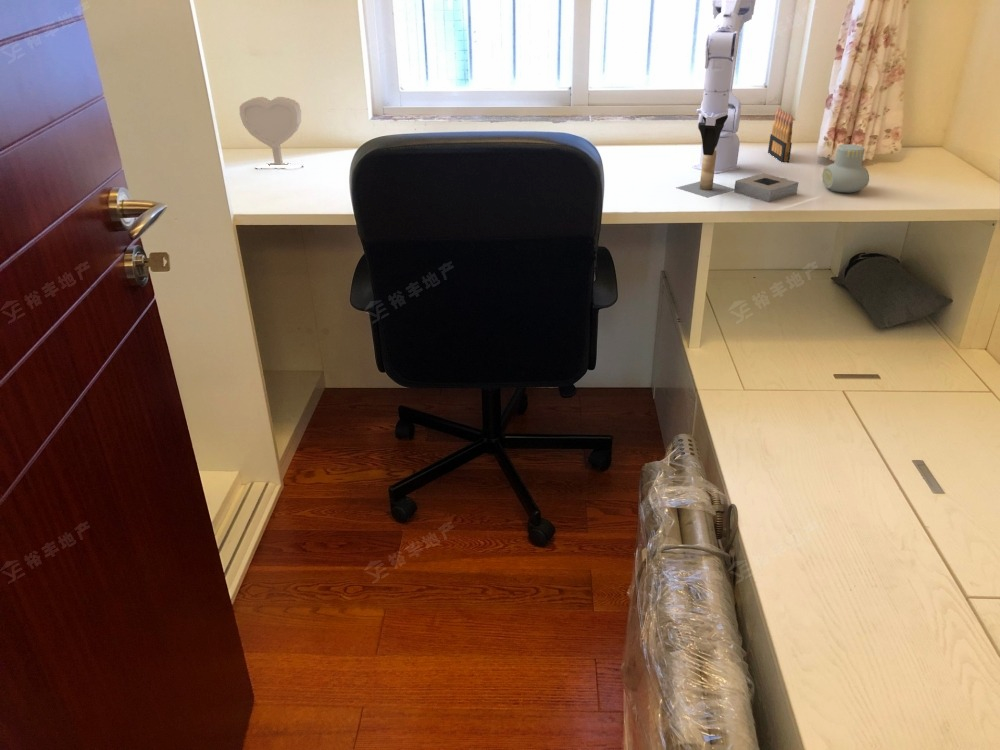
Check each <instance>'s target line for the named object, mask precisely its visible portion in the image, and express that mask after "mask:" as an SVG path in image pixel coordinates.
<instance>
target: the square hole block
mask: <svg viewBox="0 0 1000 750" xmlns="http://www.w3.org/2000/svg"><path fill="white" fill-rule="evenodd" d="M798 187H799V182H798V181H794V180H791V179H787V178H783V177H779V176H777V175H776V176H775V175H772V174H768V173H765V172H763V173H759V174H756V175H752V176H749V177H748V176H747V177H743V178H739V179H737V180H735V181H734V188H733V189H734V190H733V192H734V194H738V195H743V196H745V197H748V198H749V197H750V198H753V199H756V200H760V201H762V202H766V203H772V202H775V201H779V200H781V199H785V198H788V197H791V196H794V195H798V194H797V193H798V189H799V188H798Z"/></svg>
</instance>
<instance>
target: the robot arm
mask: <svg viewBox="0 0 1000 750" xmlns="http://www.w3.org/2000/svg"><path fill="white" fill-rule="evenodd" d="M756 1H757V0H712V2H711V3H712V15H713V19H714V21H713V23H712V28H711V31H710V32H711V33H710V34H707V37H706V41H705V49H704V56H705V64H704V69H705V74H704V75H705V76H704V85H703V93H702V101H701V103H700V108H697V109H696V110H695V111H696V112H695V113H696V114H698V121H697V129H698V131H699V133H700V135H701V150H700V158H699V159H700V160H699V164H696V165H692V169H695V170H699V171H701V169H702V160H703V154H704V155H713V153H714V151H715V150H716V151H717V153H716V161H715V170H714V175H718V174H721V173H725V172H729V171H733V170H737V169H740V166H739V165H738V159H739V153H740V138H739V135H738V134H737V132H738V131H739V128H740V127H739V126H740V122H741V121H740V120H741V114H742V113H741V111H742V110H741V109H742V103H741V99H739V98H738V97H737V96H736V95H734V94H733V93H732V92H733V85H734V78H735V70H736V63H737V56H738V50H739V44H740V43H739V42H740V34H741V32H742V29H743V26H744V24H745V23H746V22H749V21H750V20H752V17H753V15H754V14H755V13H754V11H755V6H756Z"/></svg>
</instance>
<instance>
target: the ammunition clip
mask: <svg viewBox="0 0 1000 750" xmlns="http://www.w3.org/2000/svg"><path fill="white" fill-rule="evenodd" d="M793 125H794V117H793V115H791V114H790V113H787V111H785V110H783V109H780V108H779V107H778V108H777V110H776V112H775V116H774V121H773V124H772V130H771V133H770V136H769V143H768V149H767V153H768V154H769V153H770V154H771V155H770V154H769V155H770V156H772V157H773V156H774V157H773V158H774V159H776V158H777V159H776V160H777V161H779V162H780V161H781V162H780V163H782V162H787V163H790V159H791V152H792V151H791V150H792V143H793V142H792V135H793Z"/></svg>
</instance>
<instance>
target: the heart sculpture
mask: <svg viewBox="0 0 1000 750" xmlns="http://www.w3.org/2000/svg"><path fill="white" fill-rule="evenodd" d="M239 117H240V120H241V123H242V126H243V127H244V129H246V130H247V132H248V133H249V134H250V135H251V136H252V137H254V138H255V139H256V140H258V141H259V142H261V143H262V144H264V145H266V146H267V147H270V148H271V149H272V151H271V152H272V155H273V157H272V158H273V161H274V162H271V163H270V164H269V163H267V164H268V165H269V166H270V165H288V164H289V162H283V156H282V150H281V145H282V144H283V143H285V142H286V141H288V140H289V139H290V138H291V137H292V136H293V135H294V134H295V133H296V132H298V130H299V127H300V125H301V123H302V109H301V105H300V104H299V102H298V101H296V99H292V98H290V97H284V96H277V97H275V98H272V99H271V100H270V99H268V98H267V97H264V96H257V97H254V98H250V99H248V100H246V101H244V102H242V103H241V105H240V106H239ZM285 163H287V164H285Z"/></svg>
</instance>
